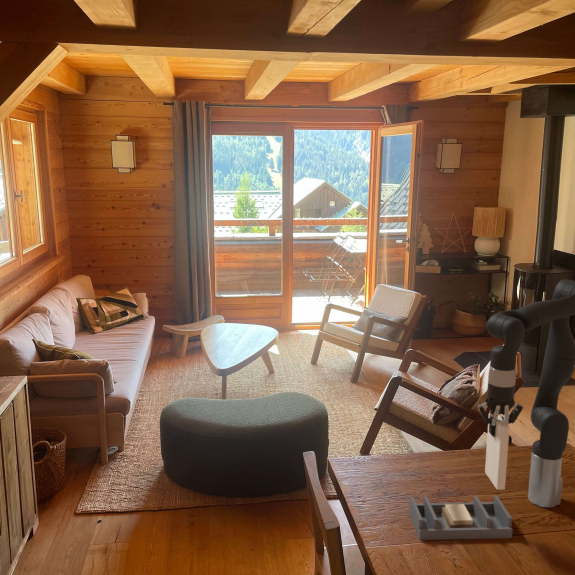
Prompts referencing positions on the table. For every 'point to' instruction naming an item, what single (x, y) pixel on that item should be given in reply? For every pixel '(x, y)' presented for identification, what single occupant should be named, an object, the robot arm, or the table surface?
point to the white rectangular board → (497, 454)
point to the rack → (486, 524)
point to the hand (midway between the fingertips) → (497, 435)
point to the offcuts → (456, 516)
